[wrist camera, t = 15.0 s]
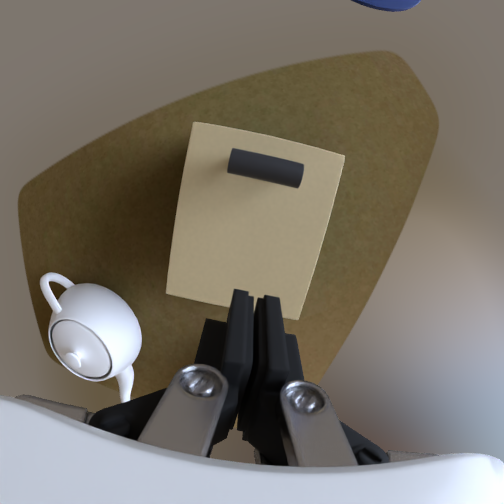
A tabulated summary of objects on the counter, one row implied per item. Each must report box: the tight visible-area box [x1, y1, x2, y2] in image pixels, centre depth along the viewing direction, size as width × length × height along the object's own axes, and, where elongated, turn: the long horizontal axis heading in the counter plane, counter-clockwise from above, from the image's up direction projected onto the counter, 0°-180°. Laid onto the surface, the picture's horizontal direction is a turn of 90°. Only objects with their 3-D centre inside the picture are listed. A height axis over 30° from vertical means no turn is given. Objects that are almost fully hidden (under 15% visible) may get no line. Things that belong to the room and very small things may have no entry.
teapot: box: [40, 272, 142, 403], centre depth 34 cm, size 22×14×11 cm, turn 25°
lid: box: [166, 122, 345, 320], centre depth 23 cm, size 15×13×5 cm
